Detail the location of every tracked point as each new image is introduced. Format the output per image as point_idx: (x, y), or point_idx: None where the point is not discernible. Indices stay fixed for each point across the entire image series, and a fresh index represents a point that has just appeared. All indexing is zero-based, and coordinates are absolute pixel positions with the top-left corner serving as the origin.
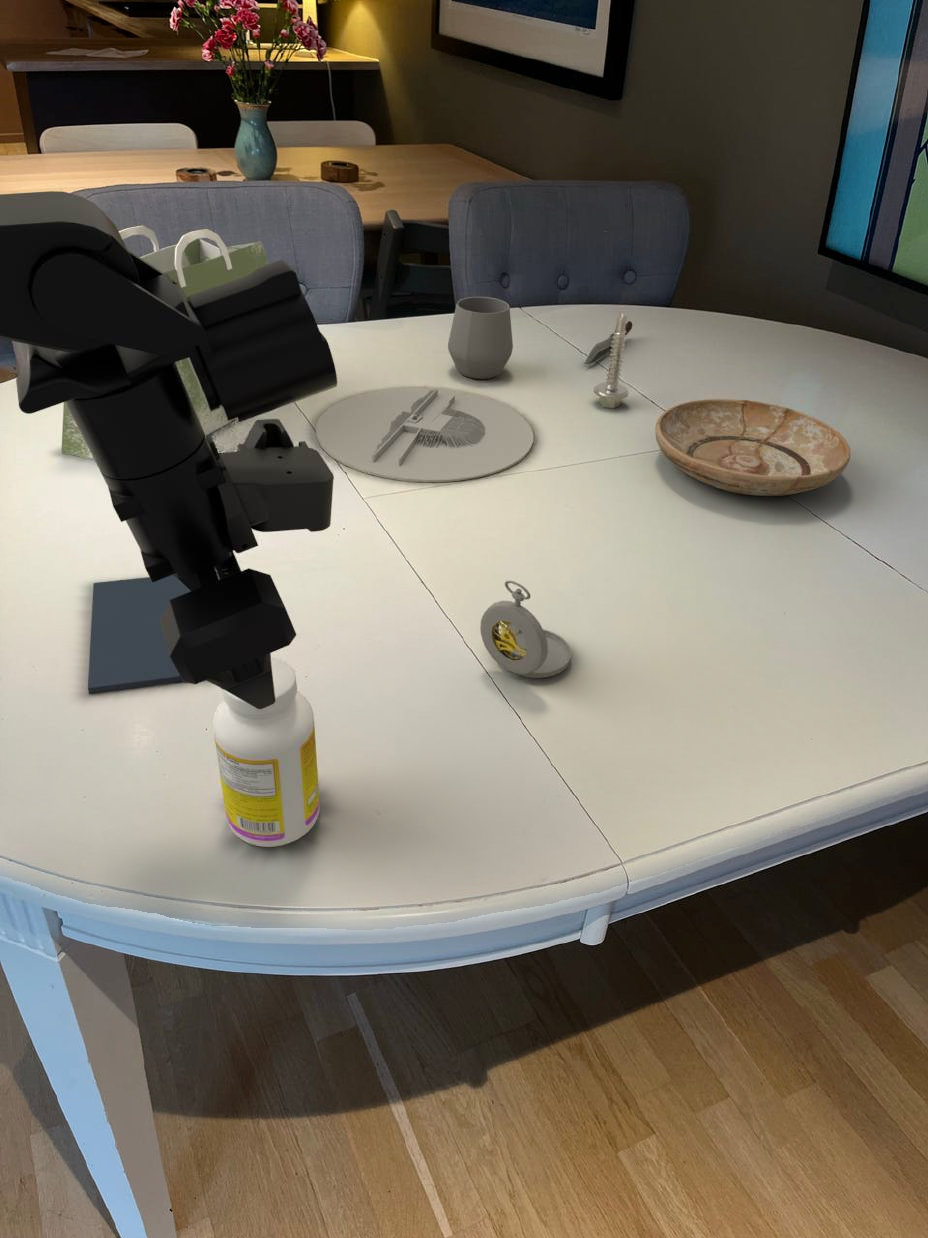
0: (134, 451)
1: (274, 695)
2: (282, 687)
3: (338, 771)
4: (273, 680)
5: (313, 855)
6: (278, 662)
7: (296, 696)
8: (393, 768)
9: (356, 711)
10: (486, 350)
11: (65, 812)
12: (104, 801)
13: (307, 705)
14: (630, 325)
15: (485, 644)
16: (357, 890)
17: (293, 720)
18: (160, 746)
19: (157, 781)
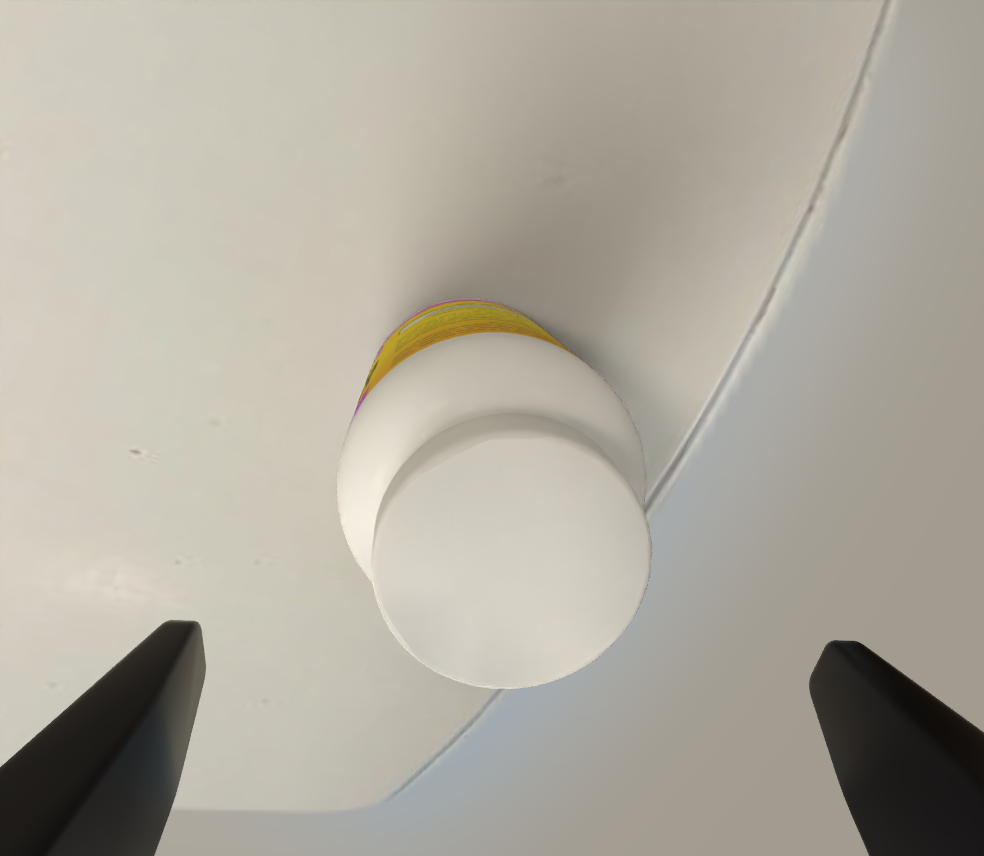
0: None
1: (904, 675)
2: (608, 506)
3: (394, 213)
4: (553, 525)
5: (599, 355)
6: (446, 473)
7: (495, 392)
8: (439, 78)
9: (190, 71)
10: None
11: (294, 733)
12: (291, 672)
13: (536, 364)
14: None
15: None
16: (718, 308)
17: (604, 439)
18: (162, 554)
19: (272, 578)
